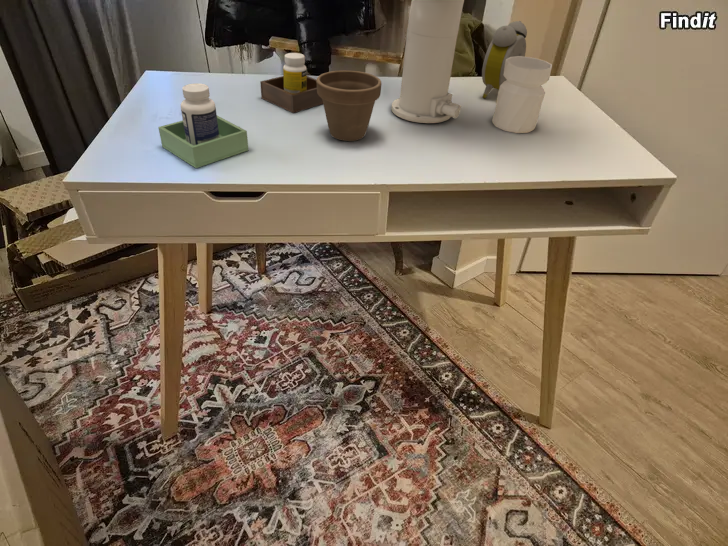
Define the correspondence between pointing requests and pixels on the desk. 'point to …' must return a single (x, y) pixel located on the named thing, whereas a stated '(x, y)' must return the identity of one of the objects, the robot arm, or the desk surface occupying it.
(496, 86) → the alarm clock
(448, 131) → the desk surface
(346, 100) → the flower pot
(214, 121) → the pill bottle
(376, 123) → the desk surface
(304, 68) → the supplement bottle
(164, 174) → the desk surface
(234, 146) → the green tray
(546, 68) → the vase
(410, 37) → the robot arm
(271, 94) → the walnut tray
